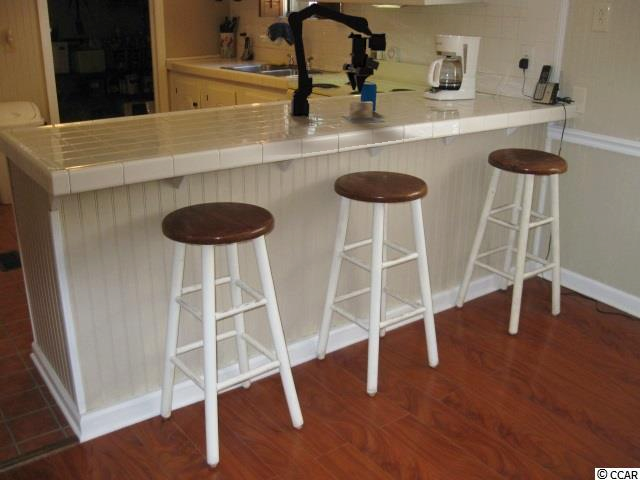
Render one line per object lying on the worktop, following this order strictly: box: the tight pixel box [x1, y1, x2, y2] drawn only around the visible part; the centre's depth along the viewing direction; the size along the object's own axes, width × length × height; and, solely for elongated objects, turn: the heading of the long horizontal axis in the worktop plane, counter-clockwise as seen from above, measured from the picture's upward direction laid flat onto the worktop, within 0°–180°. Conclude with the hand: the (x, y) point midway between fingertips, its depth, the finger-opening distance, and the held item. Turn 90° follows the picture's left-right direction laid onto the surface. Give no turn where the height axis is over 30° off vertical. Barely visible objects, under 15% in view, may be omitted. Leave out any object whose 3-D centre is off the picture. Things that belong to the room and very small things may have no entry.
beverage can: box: [360, 81, 378, 113], centre depth 265 cm, size 6×6×12 cm
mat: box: [341, 115, 386, 124], centre depth 249 cm, size 13×14×1 cm
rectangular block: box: [349, 101, 374, 118], centre depth 251 cm, size 9×2×6 cm, turn 109°
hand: (356, 91), depth 253 cm, fingers open, 6 cm apart
